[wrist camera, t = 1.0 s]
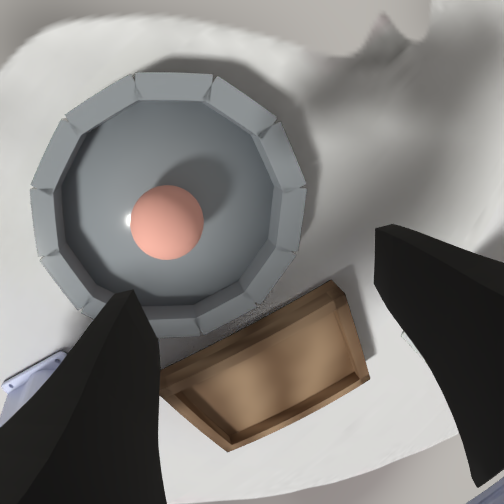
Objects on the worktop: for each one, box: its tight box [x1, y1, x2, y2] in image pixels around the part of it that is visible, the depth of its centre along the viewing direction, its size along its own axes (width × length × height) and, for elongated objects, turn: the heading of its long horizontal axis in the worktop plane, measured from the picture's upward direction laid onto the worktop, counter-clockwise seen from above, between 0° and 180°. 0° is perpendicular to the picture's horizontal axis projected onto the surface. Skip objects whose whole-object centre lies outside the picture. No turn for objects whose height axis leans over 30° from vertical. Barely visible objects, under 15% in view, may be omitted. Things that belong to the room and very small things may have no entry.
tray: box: [159, 280, 370, 452], centre depth 26 cm, size 16×12×2 cm
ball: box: [130, 185, 204, 260], centre depth 17 cm, size 4×4×4 cm
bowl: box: [30, 72, 307, 338], centre depth 18 cm, size 16×16×2 cm
